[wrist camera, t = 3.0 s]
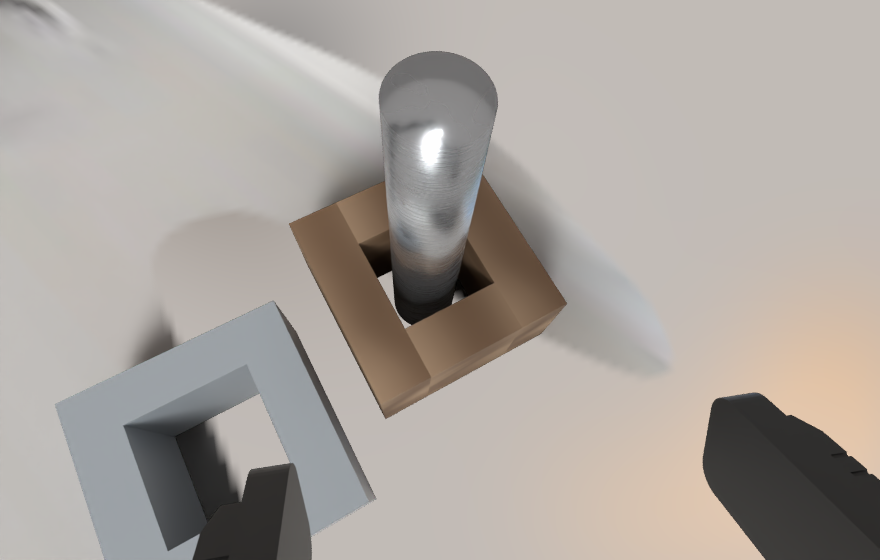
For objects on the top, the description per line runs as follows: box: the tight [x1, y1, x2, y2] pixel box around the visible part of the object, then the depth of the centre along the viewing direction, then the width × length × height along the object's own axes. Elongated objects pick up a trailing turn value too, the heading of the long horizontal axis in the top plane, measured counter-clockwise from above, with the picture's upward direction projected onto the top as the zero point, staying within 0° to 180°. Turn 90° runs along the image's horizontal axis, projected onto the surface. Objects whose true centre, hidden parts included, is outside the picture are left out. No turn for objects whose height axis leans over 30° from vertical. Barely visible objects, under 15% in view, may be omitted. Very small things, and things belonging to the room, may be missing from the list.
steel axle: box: [379, 51, 498, 325], centre depth 21 cm, size 3×3×16 cm
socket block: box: [55, 301, 376, 560], centre depth 23 cm, size 9×9×5 cm
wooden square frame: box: [289, 174, 567, 418], centre depth 27 cm, size 9×9×5 cm
